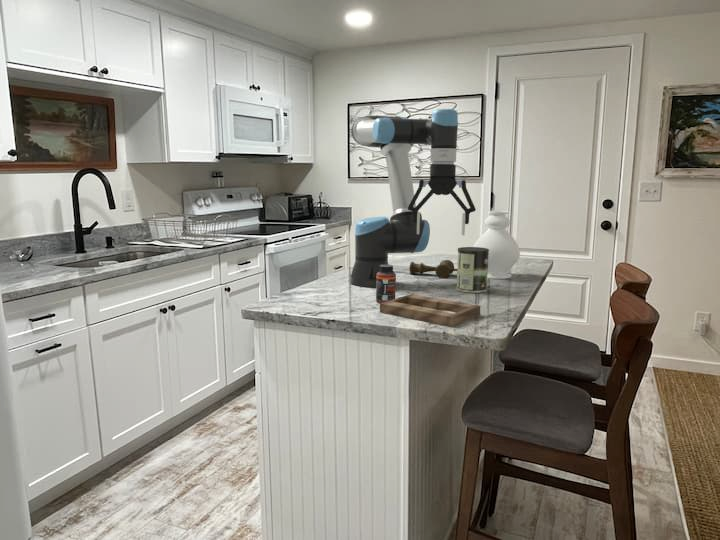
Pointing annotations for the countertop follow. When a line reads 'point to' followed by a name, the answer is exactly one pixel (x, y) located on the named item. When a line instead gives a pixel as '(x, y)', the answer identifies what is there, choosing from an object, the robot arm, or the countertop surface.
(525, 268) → the countertop surface
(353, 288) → the countertop surface
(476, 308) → the brown wooden picture frame
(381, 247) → the robot arm
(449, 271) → the kendama
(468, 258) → the coffee can
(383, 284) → the supplement bottle
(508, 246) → the decorative vase
